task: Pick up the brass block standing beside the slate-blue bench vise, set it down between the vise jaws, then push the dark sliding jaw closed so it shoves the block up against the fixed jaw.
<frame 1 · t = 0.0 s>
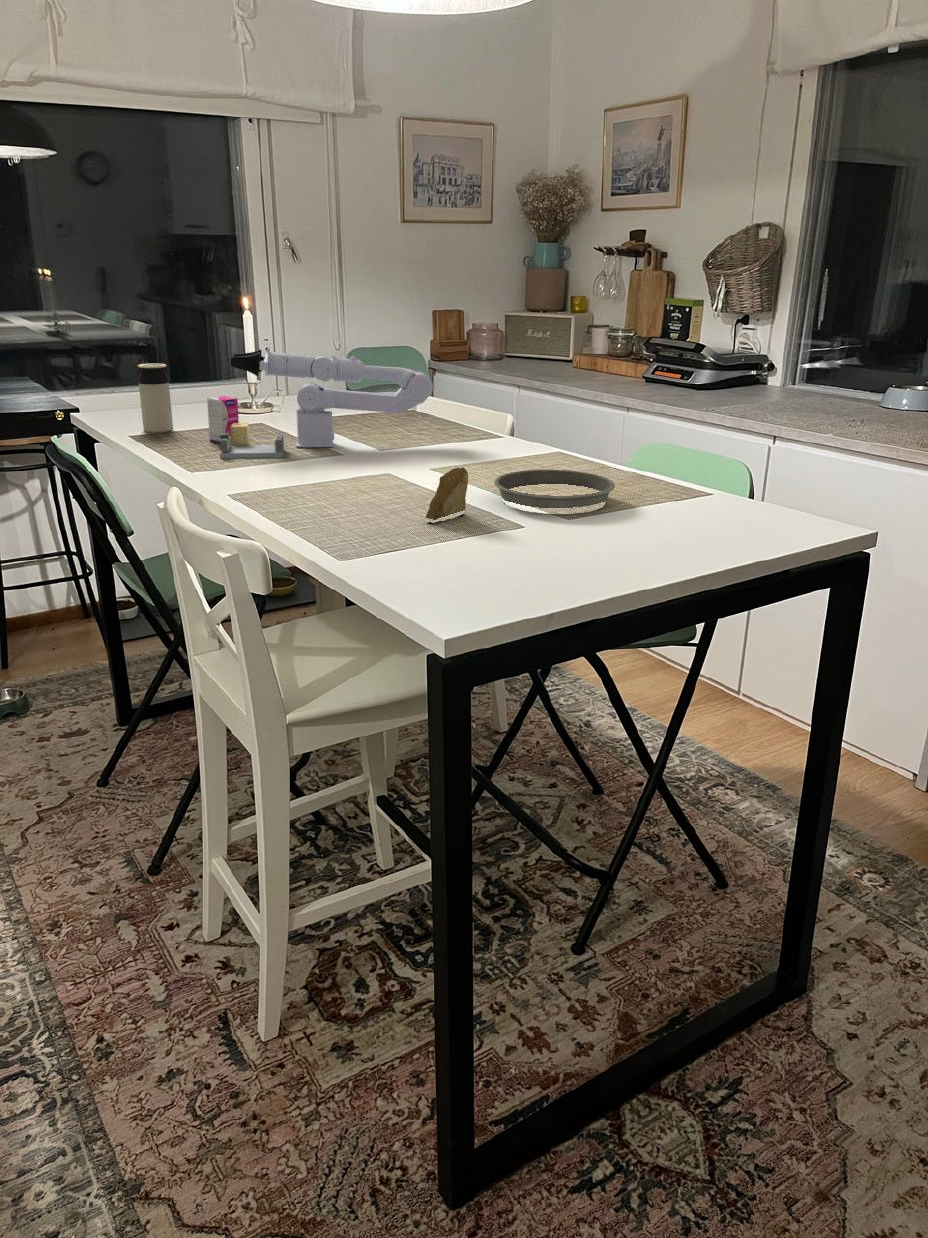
hand: (232, 360, 241), 22 cm above the table, tool horizontal, fingers open, 7 cm apart
sliding jaw: (225, 441, 237), point 3 cm above the table, slide at 0.0 cm
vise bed: (252, 453, 239), on the table
rock: (443, 519, 184), on the table
travel mug: (158, 431, 269), on the table
brass block: (241, 448, 247), on the table
cake pan: (553, 504, 197), on the table
supplement box: (225, 442, 255), on the table
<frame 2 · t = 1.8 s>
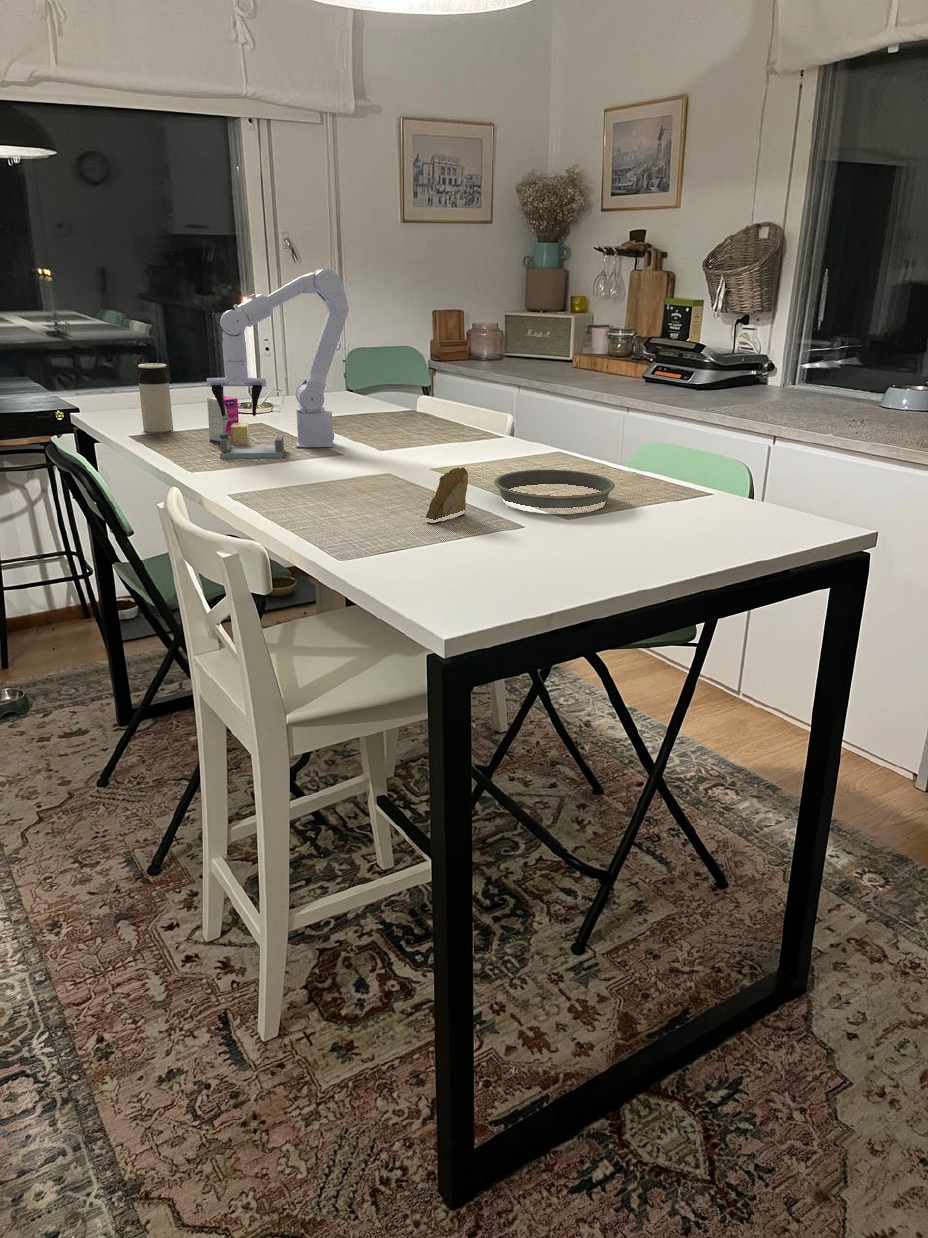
hand: (238, 415, 244), 8 cm above the table, tool pointing down, fingers open, 7 cm apart
nothing on the table moved.
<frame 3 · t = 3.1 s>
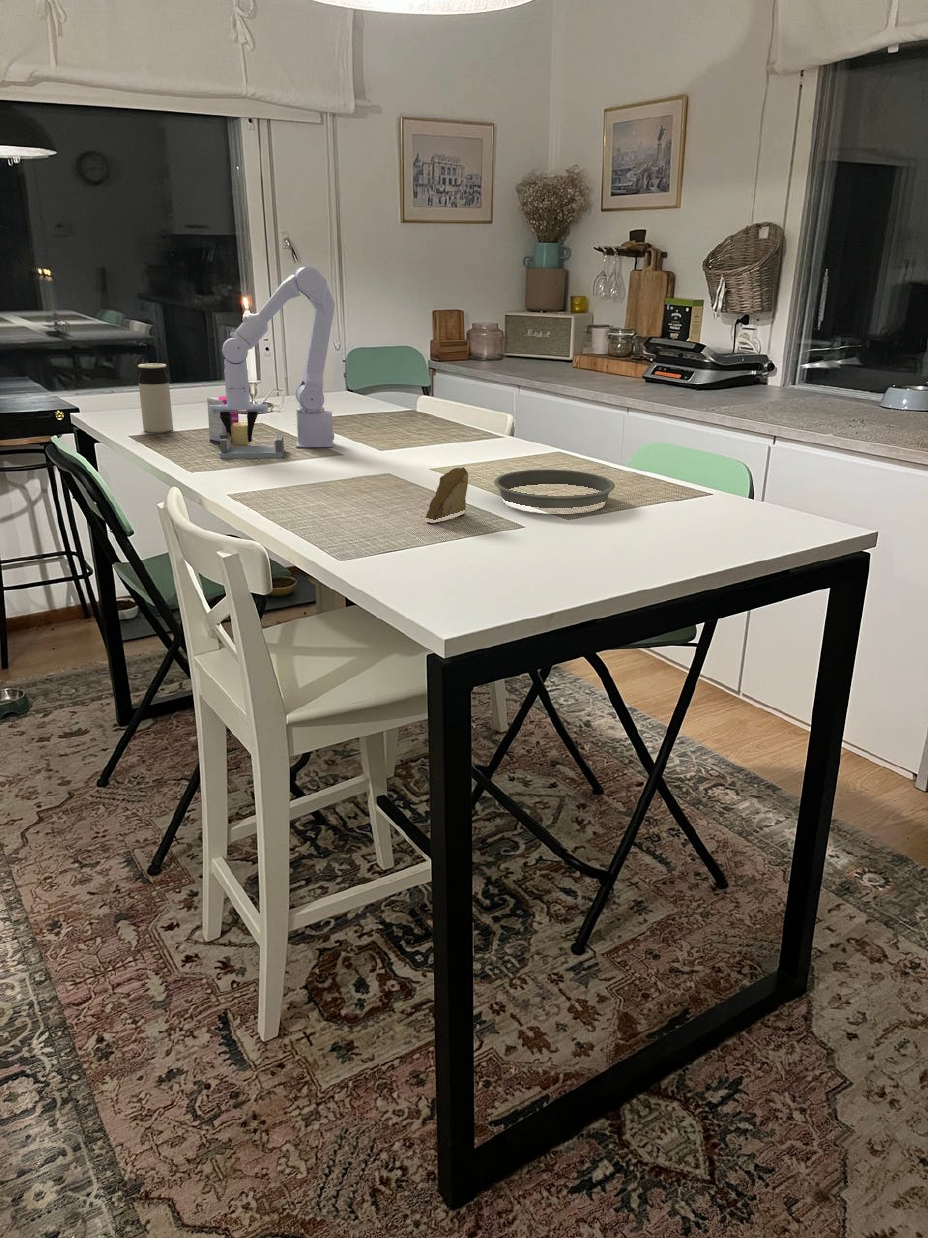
hand: (240, 441, 246), 2 cm above the table, tool pointing down, fingers closed on brass block, 4 cm apart
brass block: (241, 447, 247), on the table, touching gripper
everything else where it was.
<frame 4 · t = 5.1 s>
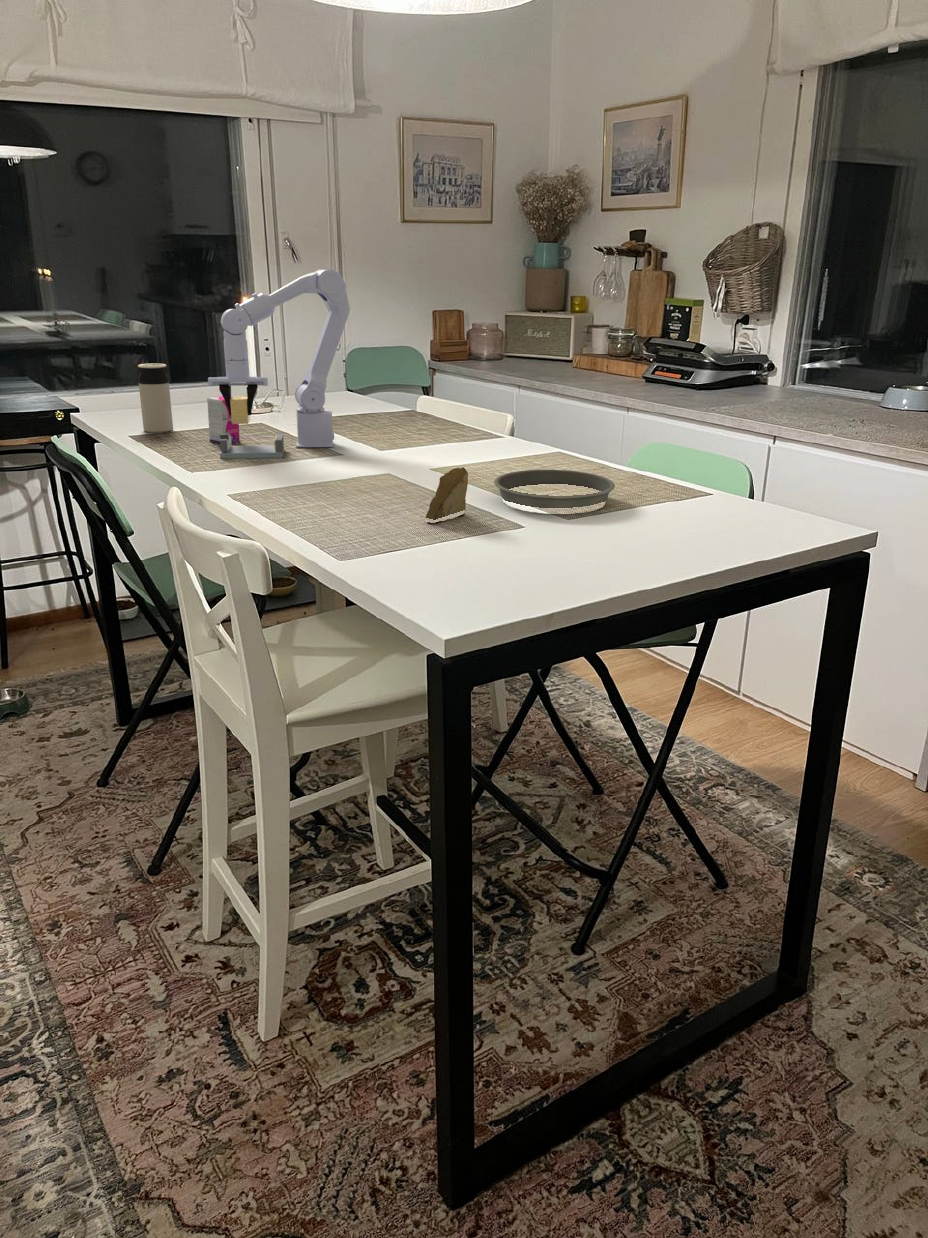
hand: (240, 414, 243), 9 cm above the table, tool pointing down, fingers closed on brass block, 4 cm apart
brass block: (241, 421, 244), point 7 cm above the table, touching gripper
everything else where it was.
when the fingers open (4 cm above the table, at t = 7.1 s): brass block stays where it is, resting on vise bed.
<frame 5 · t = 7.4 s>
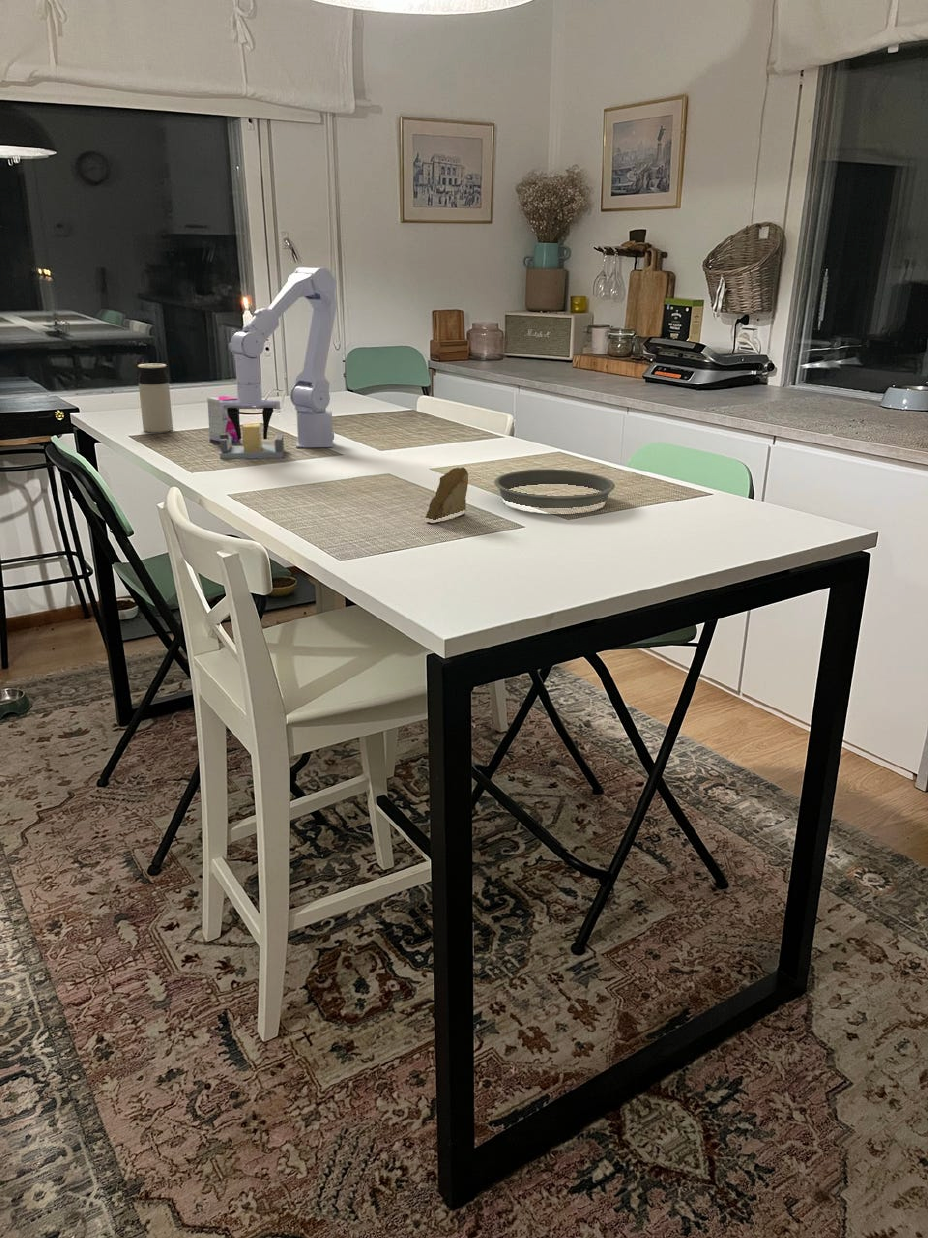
hand: (252, 438, 238), 4 cm above the table, tool pointing down, fingers open, 6 cm apart
brass block: (253, 449, 239), point 1 cm above the table, touching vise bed
everything else where it was.
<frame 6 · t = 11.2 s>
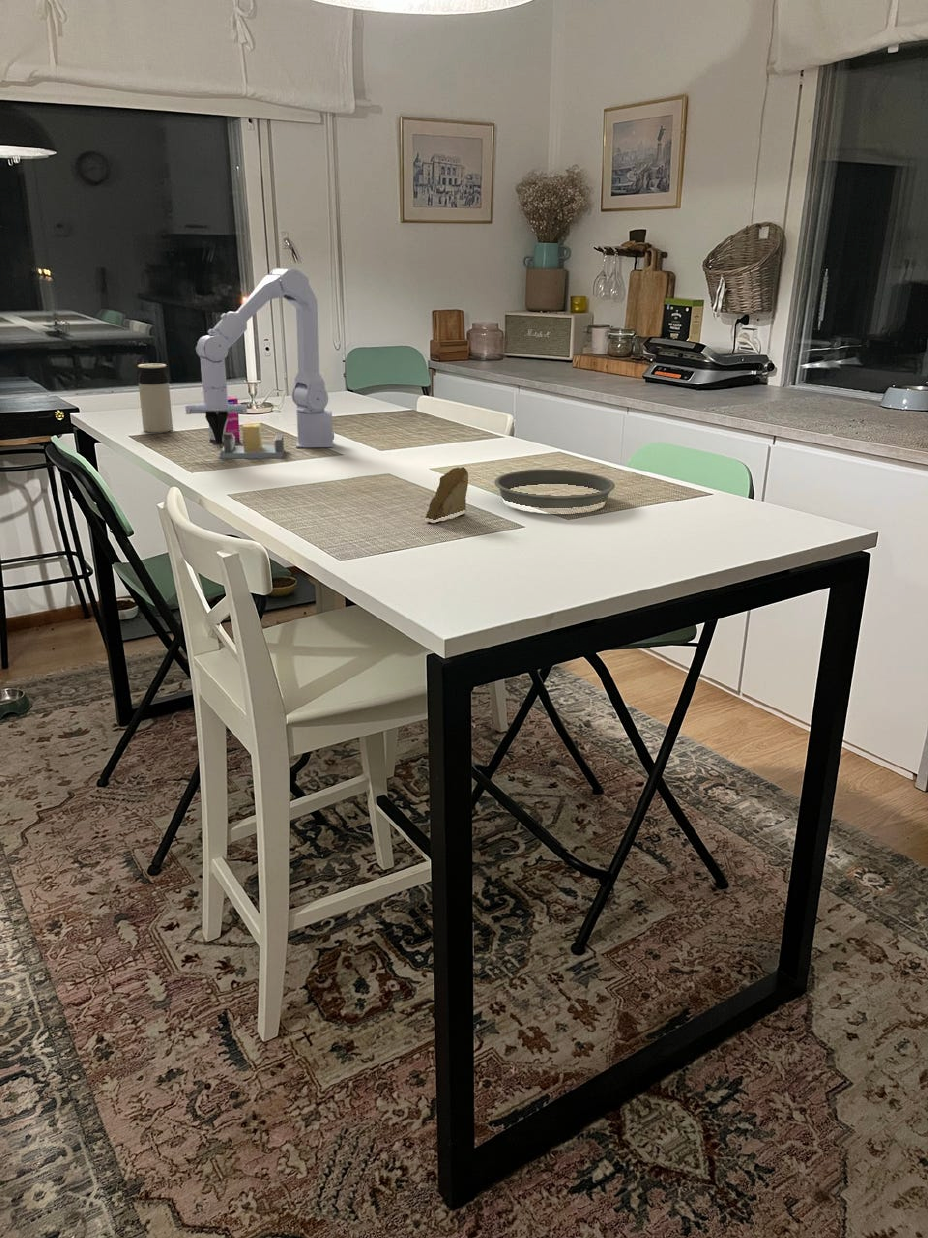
hand: (219, 442, 237), 3 cm above the table, tool pointing down, fingers closed
sliding jaw: (228, 440, 237), point 3 cm above the table, slide at 0.9 cm, touching gripper
everything else where it was.
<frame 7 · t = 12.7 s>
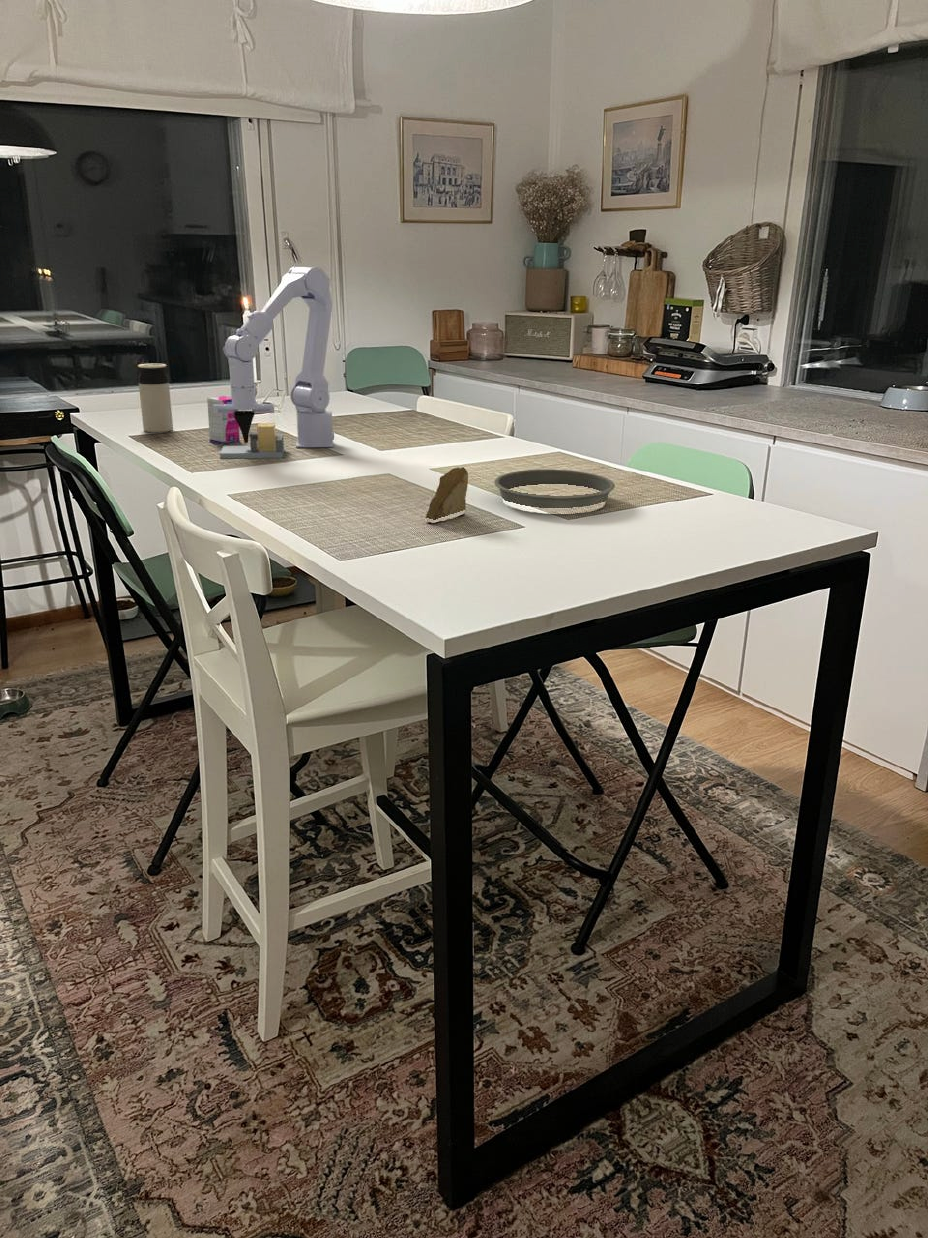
hand: (246, 442, 238), 3 cm above the table, tool pointing down, fingers closed
sliding jaw: (254, 440, 238), point 3 cm above the table, slide at 7.2 cm, touching brass block, gripper
brass block: (267, 448, 240), point 1 cm above the table, touching sliding jaw, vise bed
everything else where it was.
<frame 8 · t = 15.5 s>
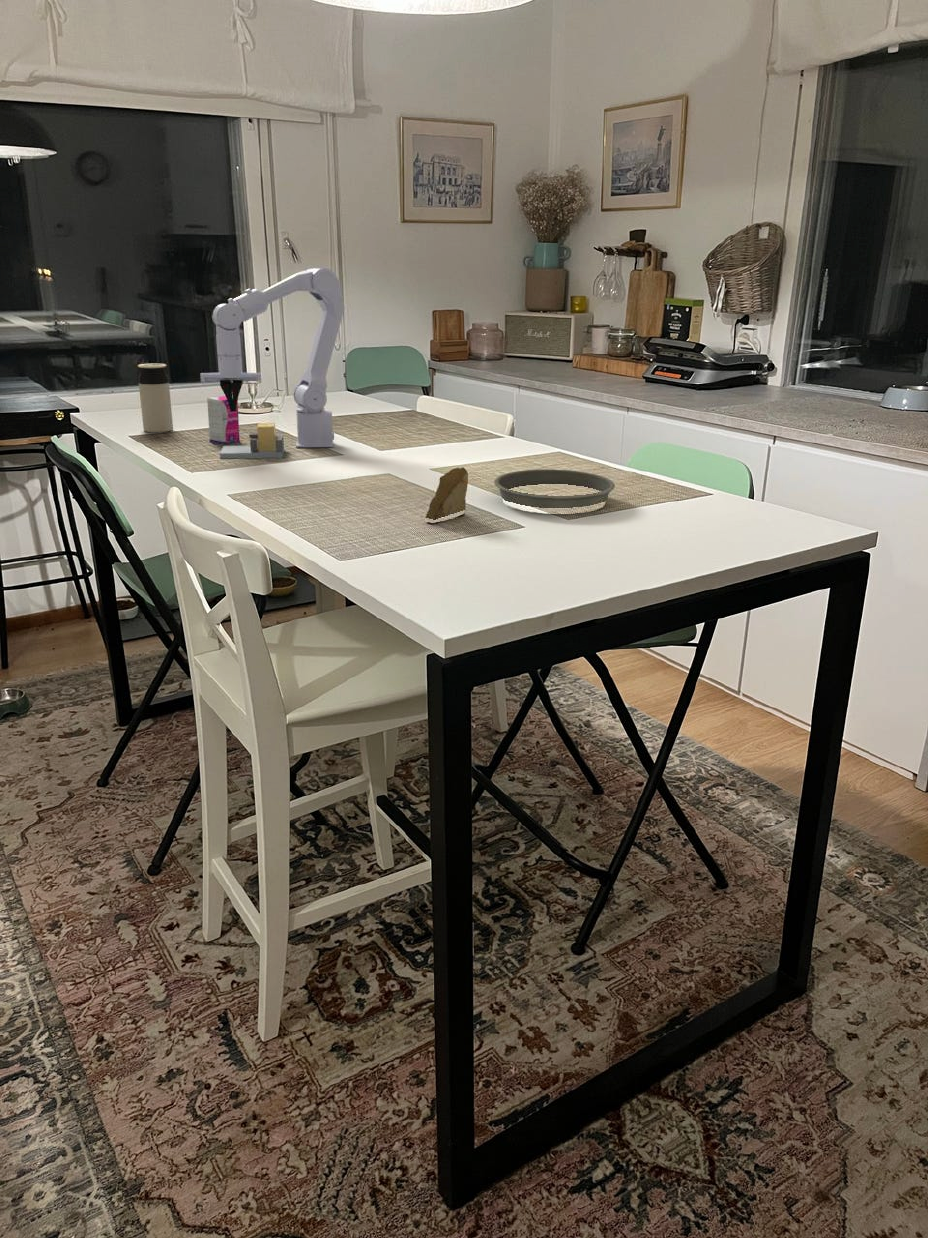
hand: (233, 411, 240), 10 cm above the table, tool pointing down, fingers closed
sliding jaw: (254, 440, 238), point 3 cm above the table, slide at 7.1 cm
brass block: (267, 448, 240), point 1 cm above the table, touching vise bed
everything else where it was.
at the end: sliding jaw slide at 7.1 cm; brass block 0.5 cm from the target spot, point 1.2 cm above the table; brass block tilted 0° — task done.
